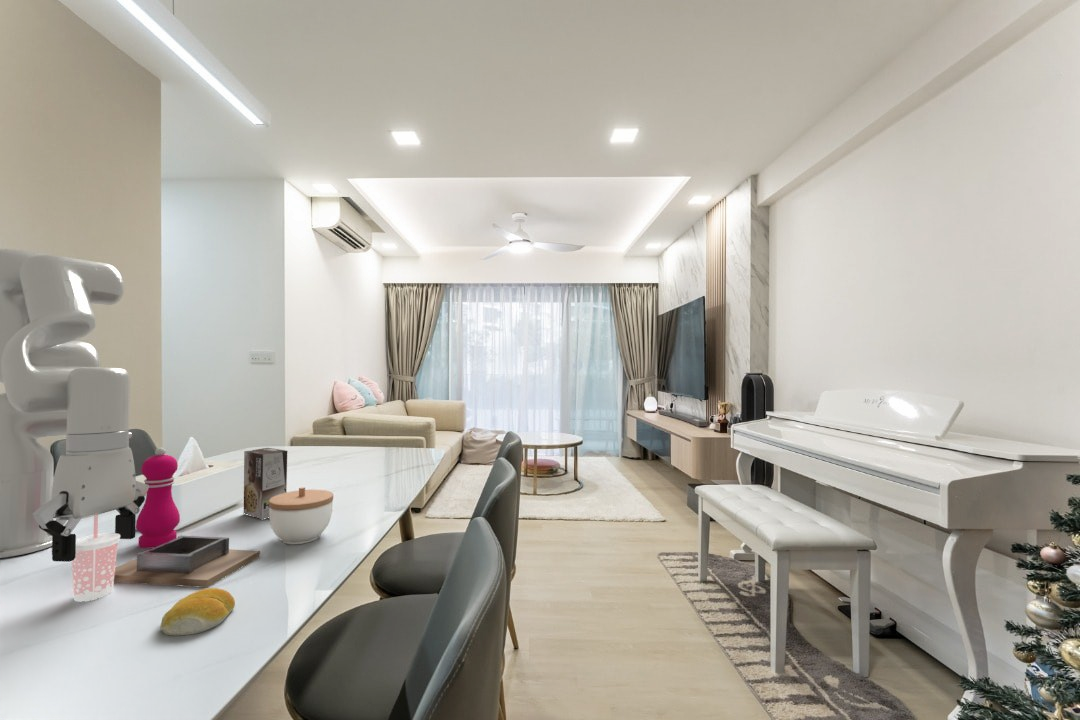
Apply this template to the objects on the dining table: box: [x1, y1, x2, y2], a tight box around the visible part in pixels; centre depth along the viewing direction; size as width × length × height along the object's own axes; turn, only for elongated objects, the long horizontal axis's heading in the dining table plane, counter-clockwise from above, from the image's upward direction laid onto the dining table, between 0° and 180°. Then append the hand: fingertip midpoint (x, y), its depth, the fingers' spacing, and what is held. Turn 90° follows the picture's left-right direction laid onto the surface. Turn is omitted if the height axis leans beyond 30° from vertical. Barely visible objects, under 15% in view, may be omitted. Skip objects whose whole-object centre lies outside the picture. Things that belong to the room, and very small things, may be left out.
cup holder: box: [114, 535, 261, 588], centre depth 87 cm, size 20×13×4 cm, turn 85°
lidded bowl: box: [268, 486, 334, 546], centre depth 103 cm, size 13×13×11 cm
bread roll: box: [160, 587, 236, 637], centre depth 70 cm, size 8×9×4 cm
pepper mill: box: [135, 447, 181, 549], centre depth 100 cm, size 7×7×20 cm
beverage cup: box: [71, 515, 121, 603], centre depth 77 cm, size 6×6×14 cm
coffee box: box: [243, 447, 288, 520], centre depth 120 cm, size 9×6×16 cm
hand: (96, 548), depth 77 cm, fingers open, 9 cm apart
